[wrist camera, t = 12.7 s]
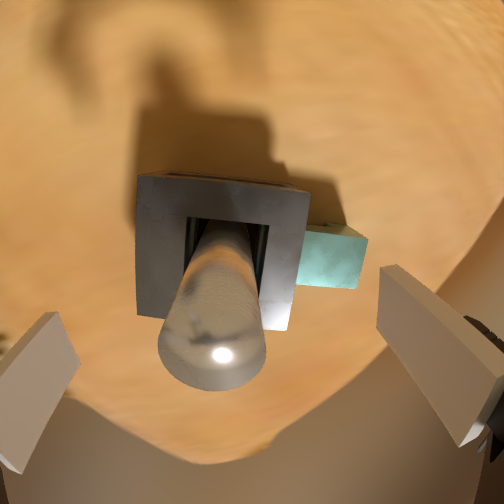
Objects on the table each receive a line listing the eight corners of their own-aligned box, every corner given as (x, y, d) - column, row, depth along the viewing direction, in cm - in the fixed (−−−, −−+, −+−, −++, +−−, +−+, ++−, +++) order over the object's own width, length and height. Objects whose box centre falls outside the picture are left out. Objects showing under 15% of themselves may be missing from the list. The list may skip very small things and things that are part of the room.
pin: (206, 210, 24) (156, 298, 9) (250, 215, 24) (274, 311, 9) (203, 252, 25) (160, 384, 10) (245, 256, 25) (258, 394, 10)
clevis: (163, 170, 23) (138, 175, 16) (352, 194, 24) (388, 207, 18) (158, 279, 25) (137, 314, 19) (331, 295, 27) (355, 332, 21)
